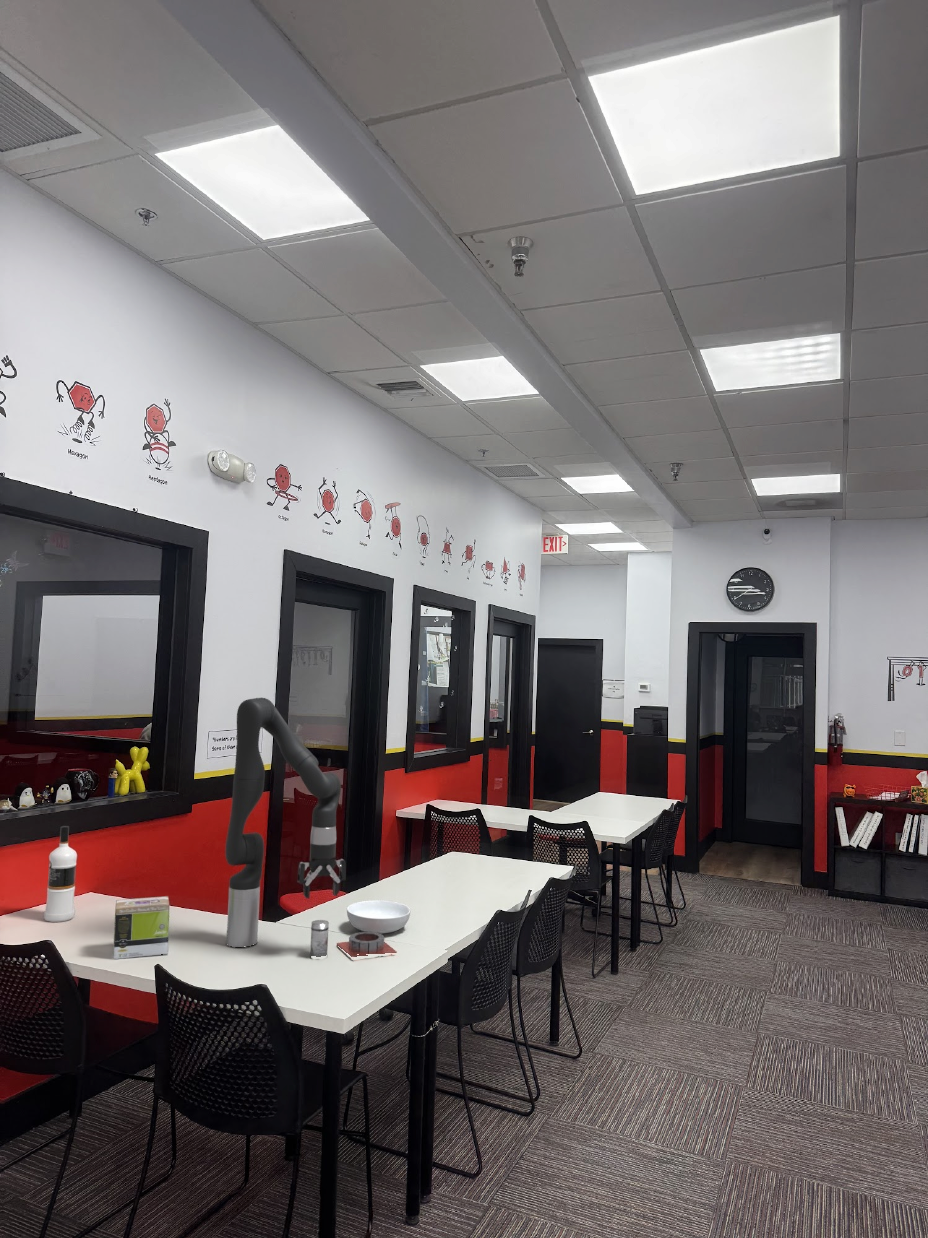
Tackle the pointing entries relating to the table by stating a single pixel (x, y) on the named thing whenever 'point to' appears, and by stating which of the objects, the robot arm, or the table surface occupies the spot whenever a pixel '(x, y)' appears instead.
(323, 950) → the cylinder
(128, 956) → the tea box
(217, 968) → the table surface
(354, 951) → the collar
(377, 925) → the serving bowl
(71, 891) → the vodka
